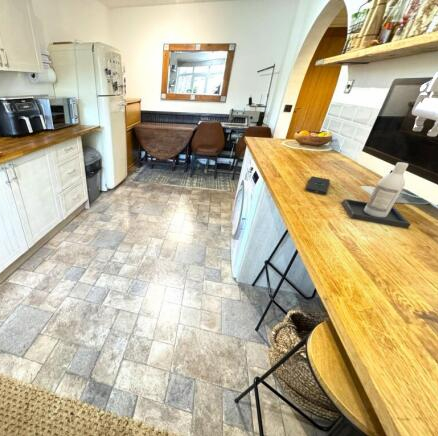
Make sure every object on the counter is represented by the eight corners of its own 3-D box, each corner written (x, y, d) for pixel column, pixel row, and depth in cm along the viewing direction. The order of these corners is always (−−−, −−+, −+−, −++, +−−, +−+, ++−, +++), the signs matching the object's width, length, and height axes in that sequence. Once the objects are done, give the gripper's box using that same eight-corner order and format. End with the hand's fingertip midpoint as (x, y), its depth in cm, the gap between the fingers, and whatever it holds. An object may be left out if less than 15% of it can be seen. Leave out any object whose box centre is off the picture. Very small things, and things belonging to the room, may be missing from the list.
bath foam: (372, 208, 96) (399, 159, 86) (391, 217, 90) (422, 165, 80) (358, 210, 94) (384, 160, 84) (377, 219, 89) (407, 167, 79)
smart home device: (306, 187, 111) (311, 175, 125) (305, 190, 112) (310, 178, 126) (327, 191, 107) (330, 179, 121) (326, 195, 108) (328, 182, 122)
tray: (391, 210, 96) (393, 206, 95) (407, 228, 84) (411, 223, 83) (341, 202, 101) (343, 198, 100) (351, 218, 90) (353, 213, 89)
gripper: (489, 86, 63) (455, 140, 70) (444, 85, 79) (420, 129, 86) (457, 86, 65) (427, 138, 72) (419, 85, 81) (398, 127, 88)
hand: (423, 133), depth 79 cm, fingers open, 8 cm apart
